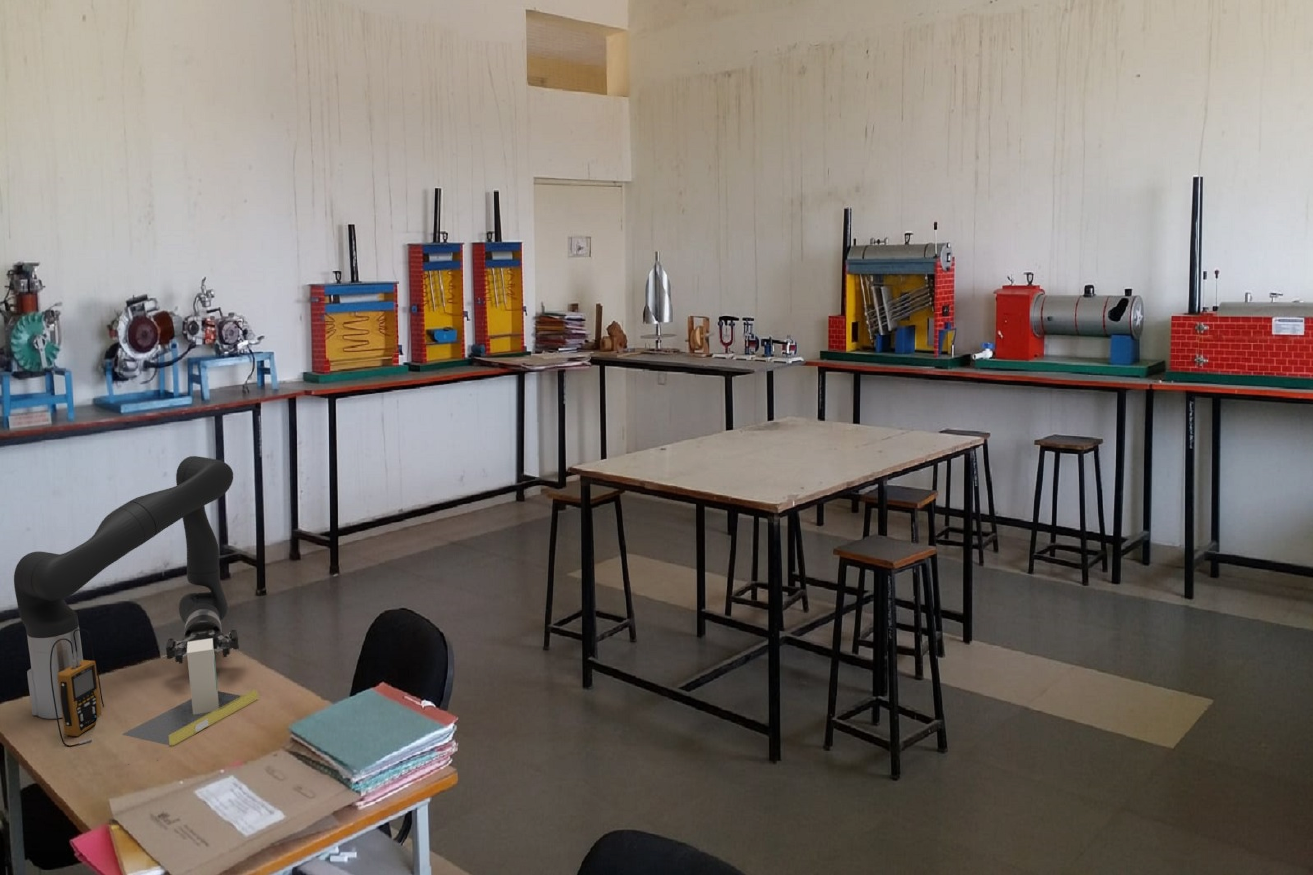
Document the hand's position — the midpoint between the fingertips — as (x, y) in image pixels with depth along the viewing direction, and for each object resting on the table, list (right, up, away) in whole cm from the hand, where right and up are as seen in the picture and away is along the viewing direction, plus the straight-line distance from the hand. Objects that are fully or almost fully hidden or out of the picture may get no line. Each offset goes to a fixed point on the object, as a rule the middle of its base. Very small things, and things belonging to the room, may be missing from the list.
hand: (202, 656), depth 224 cm
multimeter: (-15, -12, -13) cm, 23 cm away
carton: (+3, -9, -6) cm, 11 cm away
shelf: (+3, -11, -11) cm, 16 cm away
